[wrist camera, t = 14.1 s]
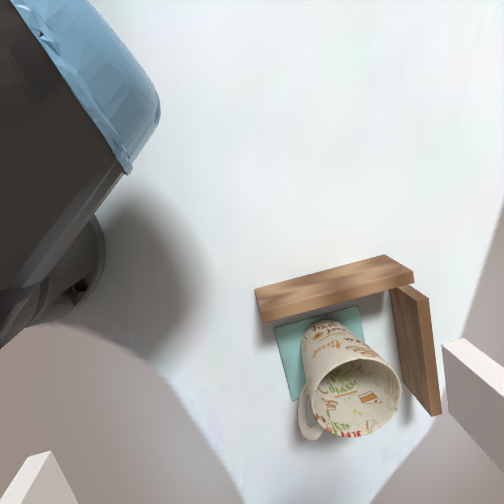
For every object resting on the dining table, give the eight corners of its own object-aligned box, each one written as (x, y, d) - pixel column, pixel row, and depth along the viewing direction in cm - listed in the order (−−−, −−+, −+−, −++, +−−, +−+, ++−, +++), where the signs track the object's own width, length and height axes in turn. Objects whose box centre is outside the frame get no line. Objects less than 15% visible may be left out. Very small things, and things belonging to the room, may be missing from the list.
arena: (287, 414, 44) (297, 453, 38) (254, 289, 39) (260, 312, 33) (412, 380, 44) (442, 413, 38) (394, 251, 39) (425, 268, 33)
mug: (372, 324, 41) (419, 375, 31) (324, 410, 44) (354, 482, 34) (309, 299, 39) (338, 345, 30) (263, 390, 42) (276, 459, 32)
